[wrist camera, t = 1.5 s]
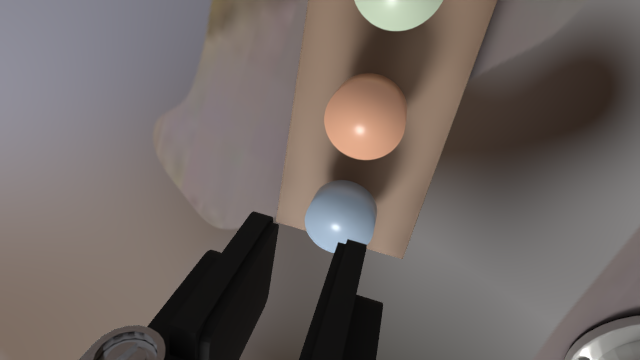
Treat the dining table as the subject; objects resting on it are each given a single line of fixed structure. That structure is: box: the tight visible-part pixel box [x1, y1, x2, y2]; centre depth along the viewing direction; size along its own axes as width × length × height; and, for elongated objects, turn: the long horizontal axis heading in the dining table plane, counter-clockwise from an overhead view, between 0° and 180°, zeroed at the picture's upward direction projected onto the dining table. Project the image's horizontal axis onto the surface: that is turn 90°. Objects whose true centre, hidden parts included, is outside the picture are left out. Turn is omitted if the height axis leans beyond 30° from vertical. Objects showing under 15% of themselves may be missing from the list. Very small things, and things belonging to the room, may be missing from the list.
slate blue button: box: [305, 180, 377, 253], centre depth 26 cm, size 4×4×2 cm
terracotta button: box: [324, 73, 407, 160], centre depth 22 cm, size 4×4×2 cm
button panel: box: [276, 0, 497, 259], centre depth 26 cm, size 10×22×3 cm, turn 170°
